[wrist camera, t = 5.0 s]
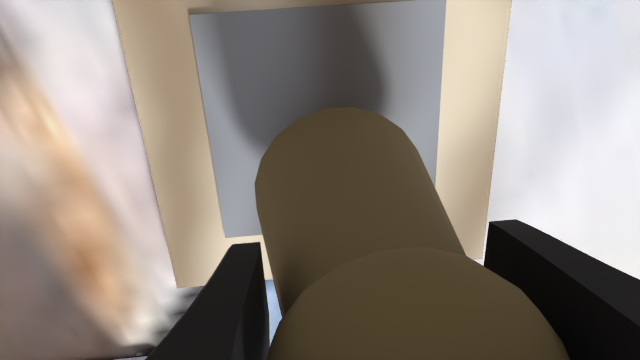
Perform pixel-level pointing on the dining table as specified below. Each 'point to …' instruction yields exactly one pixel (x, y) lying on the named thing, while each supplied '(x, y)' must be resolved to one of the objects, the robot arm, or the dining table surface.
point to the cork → (378, 254)
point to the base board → (306, 101)
